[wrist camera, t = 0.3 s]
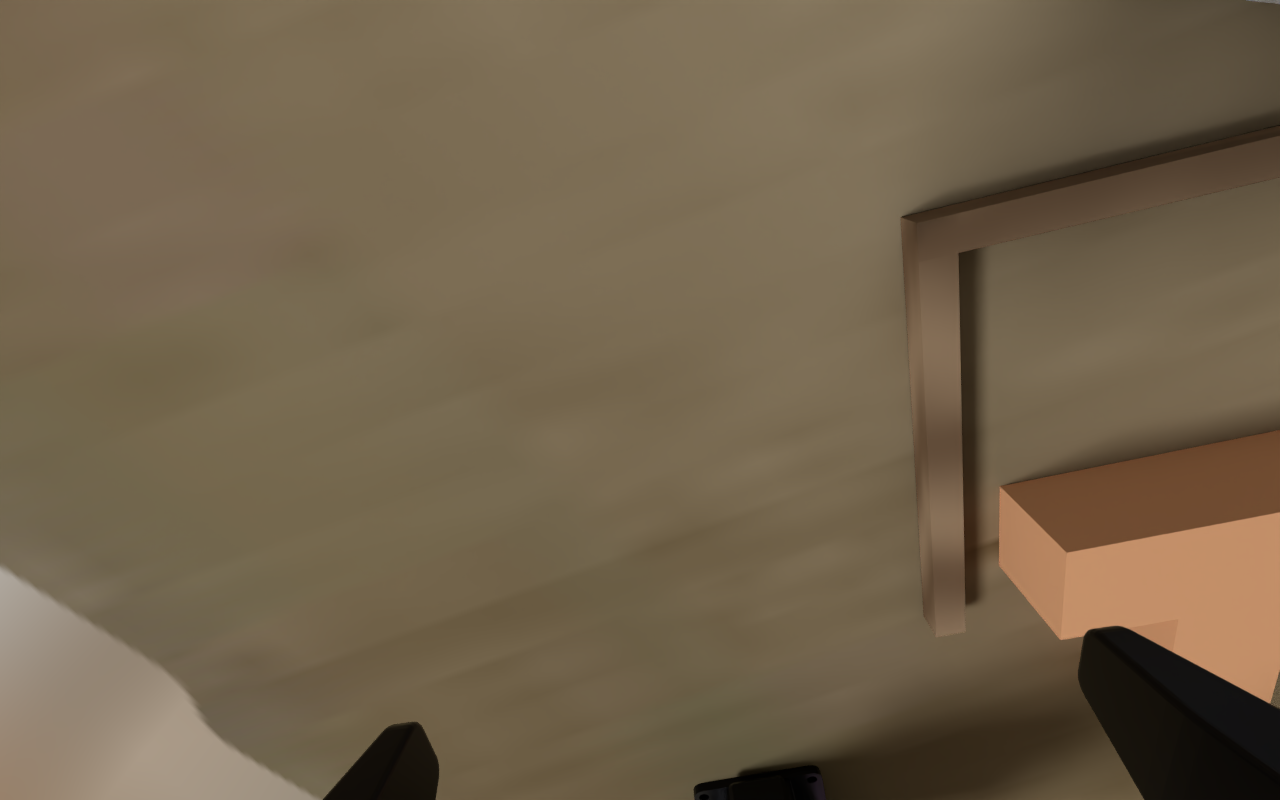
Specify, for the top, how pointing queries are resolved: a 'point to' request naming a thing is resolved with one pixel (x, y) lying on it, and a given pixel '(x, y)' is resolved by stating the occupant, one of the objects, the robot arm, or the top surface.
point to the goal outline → (937, 312)
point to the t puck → (1160, 553)
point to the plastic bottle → (1267, 1)
